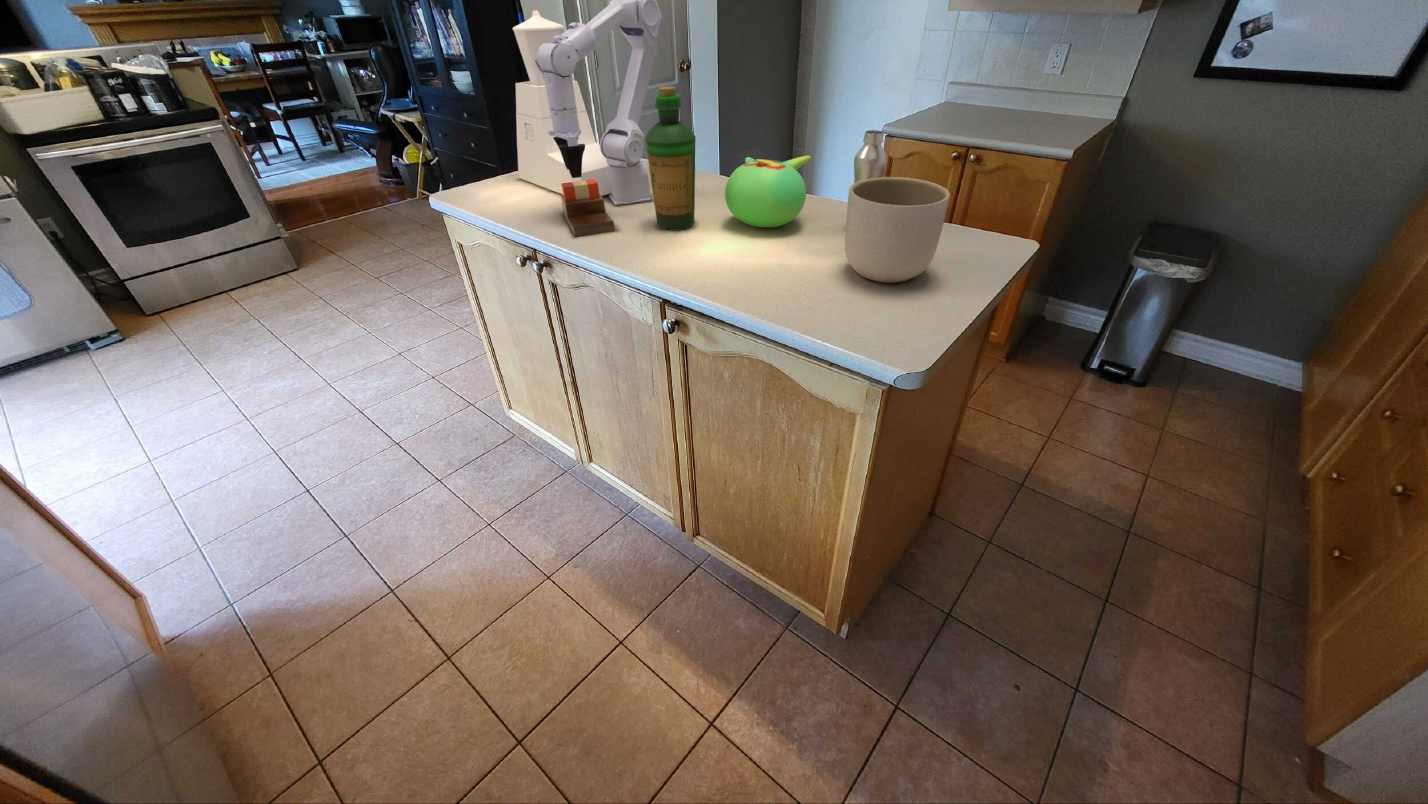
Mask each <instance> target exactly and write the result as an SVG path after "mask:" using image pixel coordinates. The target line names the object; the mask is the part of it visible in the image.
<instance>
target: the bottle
mask: <svg viewBox="0 0 1428 804" xmlns="http://www.w3.org/2000/svg"><path fill="white" fill-rule="evenodd" d="M658 90H659V93H658V94H656V95H655V101H654V102H655V103H654V109H655V110H657V113H658V120H659V121H658V122H657V123H655V124H654V125H653V126H652V127H650V129H648V131H647V133H646V135H645V136H644V142H645V147H646V155H647V161H648V168H649V169H648V170H649V175H650V176H649V178H650V183H651V190H652V196H653V197H652V198H653V204H654V212H655V218H656V224H657V226H658V227H659V228H661V229H665V230H667V231H680V230H681V231H682V230H685V229H687V228H690V227H693V225H694V223H695V212H696V211H695V208H696V207H695V206H696V204H695V202H696V200H695V199H696V135H695V134H694V132H693V130H692V128H690V127H689V126H688V125H686V124H685V123H684V122H682V121H681V120H680V109H681V108H682V107H683V106H682V102H681V97H680V94H678V93H676V87H675V86H661V87H659V88H658Z"/></svg>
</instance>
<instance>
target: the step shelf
mask: <svg viewBox="0 0 1428 804" xmlns="http://www.w3.org/2000/svg"><path fill="white" fill-rule="evenodd" d="M599 195H600V193H599ZM559 197H560V201H561V206H562V212H563V215H564V217H565V219H566V221H567V223H568V225H569V228H570V229H571V231H572V234H573V235H574V237H582V236H588V235H595V234H601V233H609V232H615V224H614V223H615V222H614V220H611V218H610V217H609V215H608V214H607V212H606V206H605V199H604V198H603V196H601V195H600V197H594V198H587V199H580V200H572V201H566V200H565V198H564V196H563V194H560V196H559Z"/></svg>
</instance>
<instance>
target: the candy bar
mask: <svg viewBox="0 0 1428 804" xmlns="http://www.w3.org/2000/svg"><path fill="white" fill-rule="evenodd" d="M561 185H562V190H563V194H562V195H563V196H564V198H565V200H566V201H572V200H580V199H587V198H594V197H600V195H599V188H598V183H597V181H596V180H595V179H592V180H583V181H575V182H568V183H561Z"/></svg>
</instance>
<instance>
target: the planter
mask: <svg viewBox="0 0 1428 804" xmlns="http://www.w3.org/2000/svg"><path fill="white" fill-rule="evenodd" d="M847 196H848V197H847V207H846V217H845V229H844V253H845V258H846V260H847V262H848V264H849V266H850V267H851V268H852V269H853V270H854V272H856V273H857V274H858V275H860V276H862V277H863V278H865V279H868V280H869V281H874V282H878V283H890V284H891V283H892V284H895V283H902V282H906V281H910V280H911V279H913V278H916V277H918V276H919V275H921V274H922V273H923V272H925V271H926V270H927V269H928V267H930V265H931V263H932V261H933V260H934V257H935V254H936V251H937V248H938V246H939V242H940V239H941V236H942V235H941V234H942V231H943V227H944V223H945V220H946V215H947V211H948V208H949V203H950V200H951V199H950V198H951V192H950V191H949V190H948V189H947V188H946V187H944V186H942V185H940V184H938V183H935V182H932V181H928V180H924V179H919V178H911V177H903V176H901V177H900V176H883V177H880V178H871V179H866V180H862V181H859V182H856V183H854V182H853V183H852V185H850V187H849V189H848V195H847Z"/></svg>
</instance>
